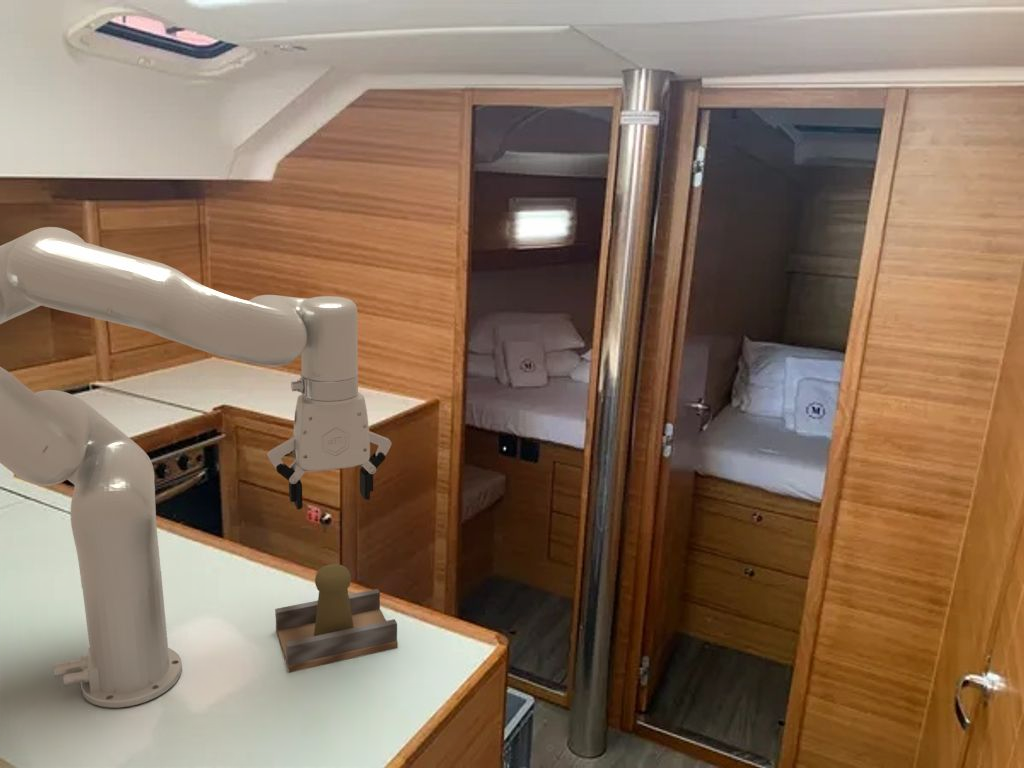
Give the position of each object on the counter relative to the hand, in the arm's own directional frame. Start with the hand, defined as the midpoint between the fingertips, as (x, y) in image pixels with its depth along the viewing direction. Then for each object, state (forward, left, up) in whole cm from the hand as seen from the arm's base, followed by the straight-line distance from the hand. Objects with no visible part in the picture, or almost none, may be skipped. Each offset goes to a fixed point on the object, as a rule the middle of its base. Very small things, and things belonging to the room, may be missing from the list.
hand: (331, 500), depth 115 cm
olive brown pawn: (0, 0, -22) cm, 22 cm away
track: (0, 0, -23) cm, 23 cm away
